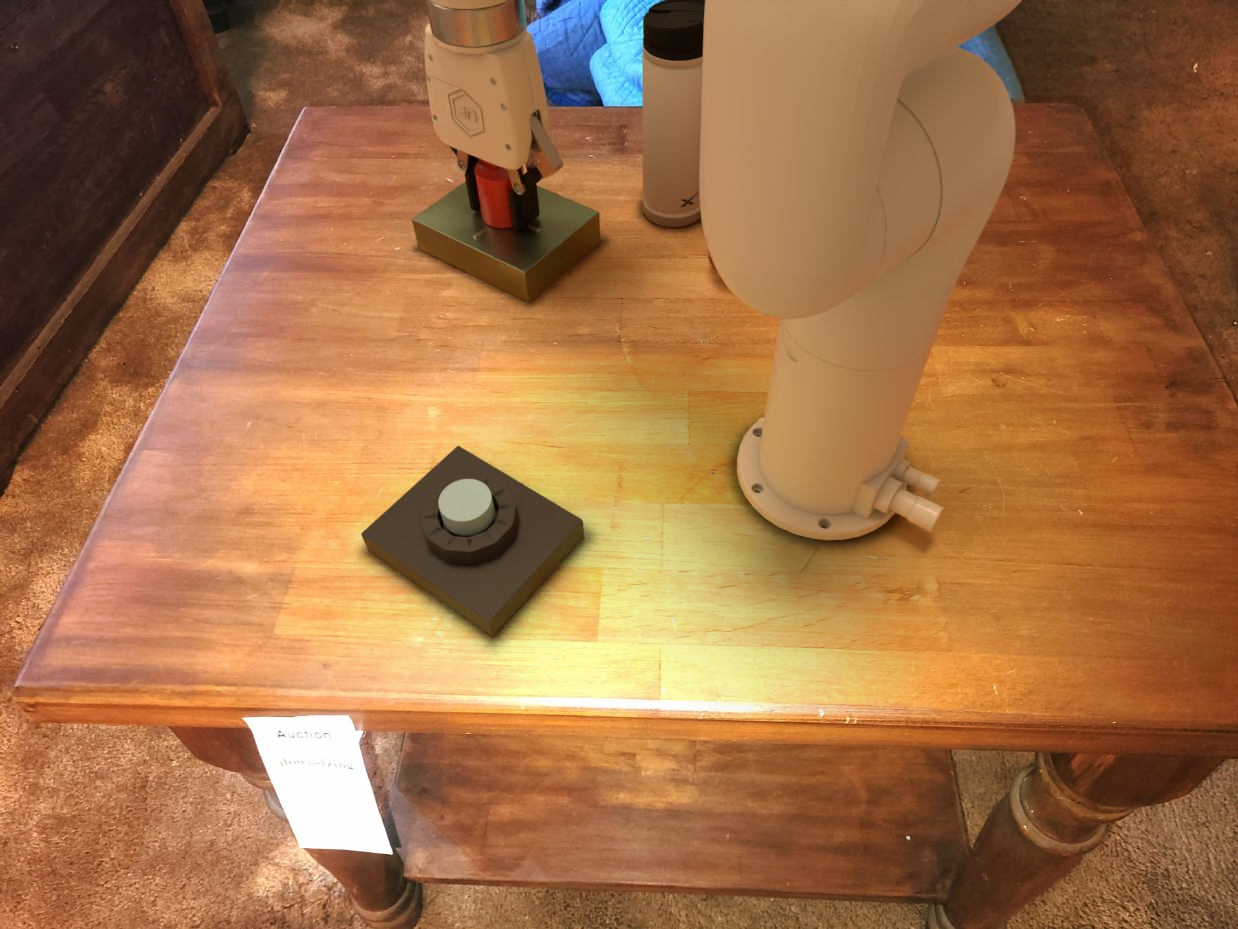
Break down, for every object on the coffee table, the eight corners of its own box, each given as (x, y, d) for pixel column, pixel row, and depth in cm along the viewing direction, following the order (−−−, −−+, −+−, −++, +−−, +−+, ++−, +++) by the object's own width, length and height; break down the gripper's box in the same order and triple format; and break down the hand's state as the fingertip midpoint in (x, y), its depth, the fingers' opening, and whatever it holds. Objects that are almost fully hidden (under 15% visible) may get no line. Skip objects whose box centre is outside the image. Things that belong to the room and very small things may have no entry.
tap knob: (538, 211, 83) (532, 160, 79) (507, 234, 81) (500, 183, 77) (503, 195, 85) (496, 145, 81) (472, 218, 82) (463, 167, 78)
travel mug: (703, 231, 86) (716, 23, 71) (637, 224, 87) (636, 18, 72) (712, 195, 90) (726, -10, 75) (648, 189, 91) (649, -15, 75)
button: (505, 509, 61) (502, 494, 59) (470, 545, 59) (466, 530, 58) (467, 486, 62) (463, 470, 61) (431, 519, 60) (427, 504, 59)
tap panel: (601, 242, 85) (599, 210, 83) (528, 303, 80) (524, 270, 77) (493, 195, 91) (488, 163, 88) (418, 249, 85) (410, 217, 83)
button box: (584, 537, 63) (581, 504, 60) (493, 638, 58) (484, 608, 55) (462, 463, 68) (454, 429, 65) (368, 551, 63) (353, 518, 60)
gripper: (366, 5, 70) (412, 202, 84) (529, 61, 63) (550, 265, 77) (431, -29, 74) (465, 166, 88) (592, 22, 67) (601, 223, 81)
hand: (505, 211), depth 82 cm, fingers open, 4 cm apart
